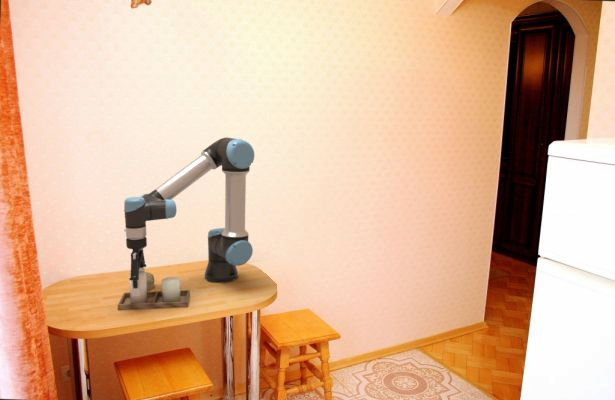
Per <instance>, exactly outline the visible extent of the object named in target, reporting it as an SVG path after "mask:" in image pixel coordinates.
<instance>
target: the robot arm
mask: <svg viewBox="0 0 615 400" xmlns="http://www.w3.org/2000/svg"><path fill="white" fill-rule="evenodd" d="M254 160H255V151H254V148H253V146H252V145H251V144H250V143H249V142H248V141H246V140H243V139H240V138H233V137H222V138H220V139H218V140H216V141H214V142H213V143H211V144H210V145H209V146H208V147H206V148H205V149H203V150H202V151H201V153H200V155H199V156H198V157H196V158H195V159H194V160H192V161H191V162H190V163H189V164H187V165H186V166H184V167H183V168H182V169H180V170H179V171H178V172H176V173H175V174H174V175H172V176H171V177H169V179H167V180H166V181H164V182H163V183H162V184H161V185H159V186H158V187H156V188H155V189H154V190H152V191H151V192H150V193H144V194H142V195H140V196H131V197H127V198H125V200H124V202H123V203H124V206H123V208H124V210H123V211H124V219H125V220H124V221H125V222H124V223H125V228H124V229H123V232H125V237H126V239H125V240H126V241H125V244H126V248H127V249H128V250H132V252H131V253H130V273H131V278H129V277H128V279H129V280H132V295H133V296H140V282H139V271H144V272H146V271H145V268H147V264H146V261H145V255H144V248H146V247H147V245H148V244H147V243H148V242H147V241H148V240H147V222H149V221H150V222H151V221H157V220H168V219H173V218H175V216H176V215H177V205H176V202H175V200H174V198H175V197H177V196H178V195H179V194H181V193H182V192H184V191H185V190H186V189H187V188H189V187H190V186H191V185H192V184H194V183H195V182H197V181H199V179H200V178H202V177H203V176H204V175H207V173H208V172H210V171H211V170H216V169H218V168H220V167H221V171H222V173H224V174H225V178H224V179H225V180H224V181H225V182H224V183H225V188H224V189H225V191H224V192H225V194H224V196H225V198H224V199H225V201H224V202H225V204H224V207H225V208H224V211H225V212H224V215H225V216H224V227H218V228H213V229H209V231H208V234H207V250H208V251H207V252H208V254H207V255H208V257H207V258H208V260H207V265H206V268H205V271H204V279H205V280H206V281H208V282H211V283H220V284H221V283H222V284H223V283H230V282H234V281H236V280H237V279H238V278H239V271H238V269H237V268H238V267H240V266H243V265H245V264H247V263H248V262H249V260H250V259H251V258H252V255H253V251H254V249H253V248H254V247H253V245H252V244H251V242H250V241H249V232H248V231H247V230H246V192H247V191H246V187H247V185H246V184H247V181H246V180H247V179H246V178H247V177H246V176H247V174H248V173H249V172H250V166H251V165H252V163H253V162H254ZM133 276H136V277H133Z"/></svg>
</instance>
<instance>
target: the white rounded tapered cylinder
mask: <svg viewBox="0 0 615 400" xmlns="http://www.w3.org/2000/svg"><path fill="white" fill-rule="evenodd" d="M146 272H147V271H145V272H144V271H139V282H140V296H133V295H132V280H129V283H128V284H129V292H130V304H138V303H147V292H148V291H147V281H146ZM133 277H136V276H133ZM129 278H131V272H129V273H128V279H129Z"/></svg>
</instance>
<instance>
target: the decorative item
mask: <svg viewBox="0 0 615 400" xmlns="http://www.w3.org/2000/svg"><path fill="white" fill-rule="evenodd" d="M145 272H146V281H147V292H149V291H151V290H153V289H154V286H155V276H154V274H153V273H151V272H147V271H145Z"/></svg>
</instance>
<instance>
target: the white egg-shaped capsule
mask: <svg viewBox="0 0 615 400" xmlns="http://www.w3.org/2000/svg"><path fill="white" fill-rule="evenodd" d="M180 290H181V279H180V278H179V277H176V276H170V277H169V276H168V277H164V278H163V279H162V280H161V291H162V301H163V303H164V302H180V301H181V297H180Z"/></svg>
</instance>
